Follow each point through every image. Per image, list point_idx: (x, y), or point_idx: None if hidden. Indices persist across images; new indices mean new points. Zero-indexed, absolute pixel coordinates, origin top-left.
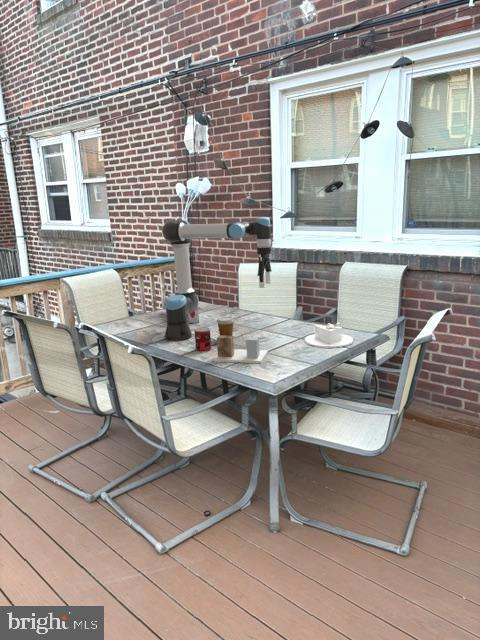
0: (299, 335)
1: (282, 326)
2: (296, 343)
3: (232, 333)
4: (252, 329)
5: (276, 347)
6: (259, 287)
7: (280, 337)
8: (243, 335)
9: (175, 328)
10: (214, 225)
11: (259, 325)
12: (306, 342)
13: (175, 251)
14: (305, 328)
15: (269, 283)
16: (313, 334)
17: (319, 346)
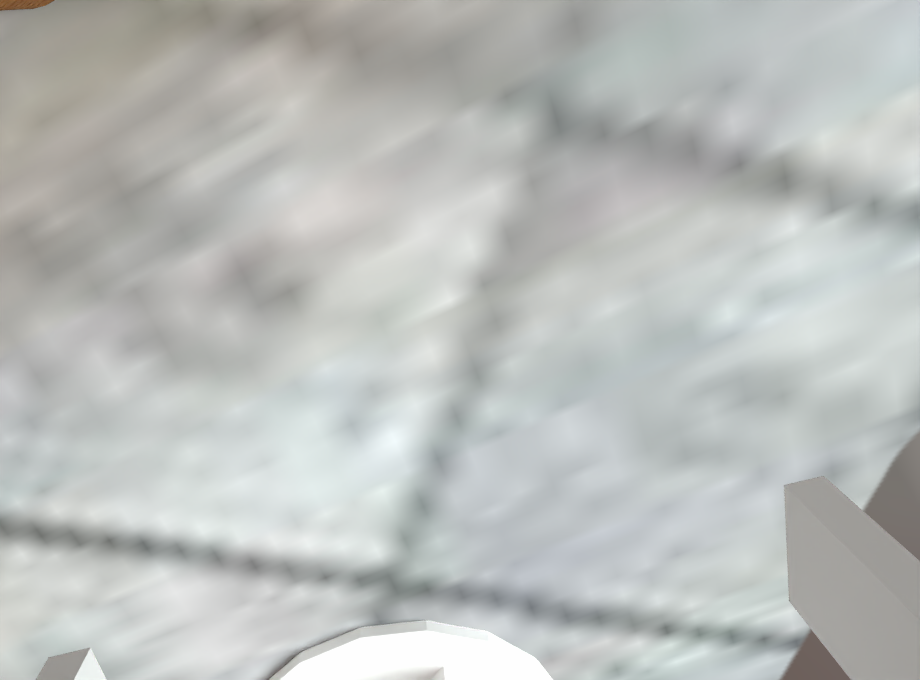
0: (472, 543)
1: (723, 291)
2: (247, 609)
3: (12, 6)
4: (531, 29)
5: (65, 526)
6: (41, 672)
7: (354, 433)
8: (266, 48)
9: None
10: None
11: (714, 28)
12: (283, 671)
13: None
14: (697, 503)
15: (790, 590)
16: (490, 648)
17: None
